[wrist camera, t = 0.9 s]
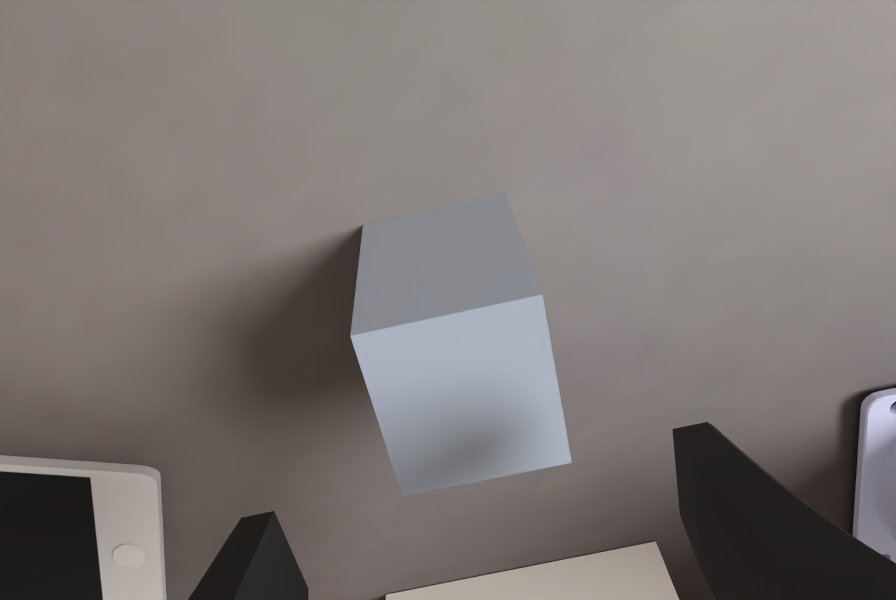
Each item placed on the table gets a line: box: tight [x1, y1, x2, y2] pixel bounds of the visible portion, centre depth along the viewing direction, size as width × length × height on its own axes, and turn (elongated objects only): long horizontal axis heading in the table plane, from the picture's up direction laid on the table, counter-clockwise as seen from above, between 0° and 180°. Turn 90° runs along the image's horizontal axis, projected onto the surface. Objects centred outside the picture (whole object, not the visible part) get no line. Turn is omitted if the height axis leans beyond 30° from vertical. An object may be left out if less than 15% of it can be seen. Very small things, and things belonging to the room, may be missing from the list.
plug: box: [350, 193, 572, 497], centre depth 19 cm, size 4×4×6 cm
